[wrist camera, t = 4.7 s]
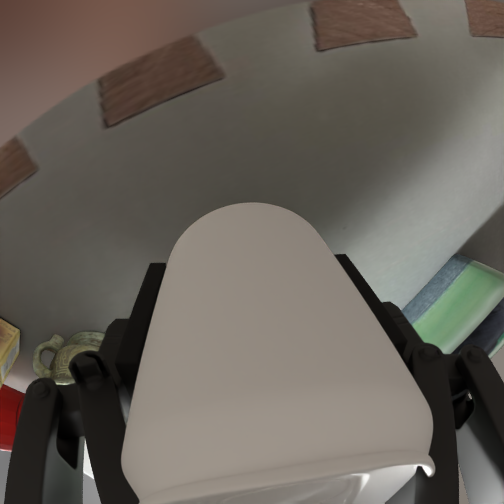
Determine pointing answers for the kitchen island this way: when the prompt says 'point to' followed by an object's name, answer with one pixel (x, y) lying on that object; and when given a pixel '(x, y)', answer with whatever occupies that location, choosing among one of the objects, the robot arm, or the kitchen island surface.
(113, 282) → the kitchen island surface
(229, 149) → the kitchen island surface
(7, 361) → the candy box
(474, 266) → the planter
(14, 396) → the plastic cup
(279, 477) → the beverage can
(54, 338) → the vessel
